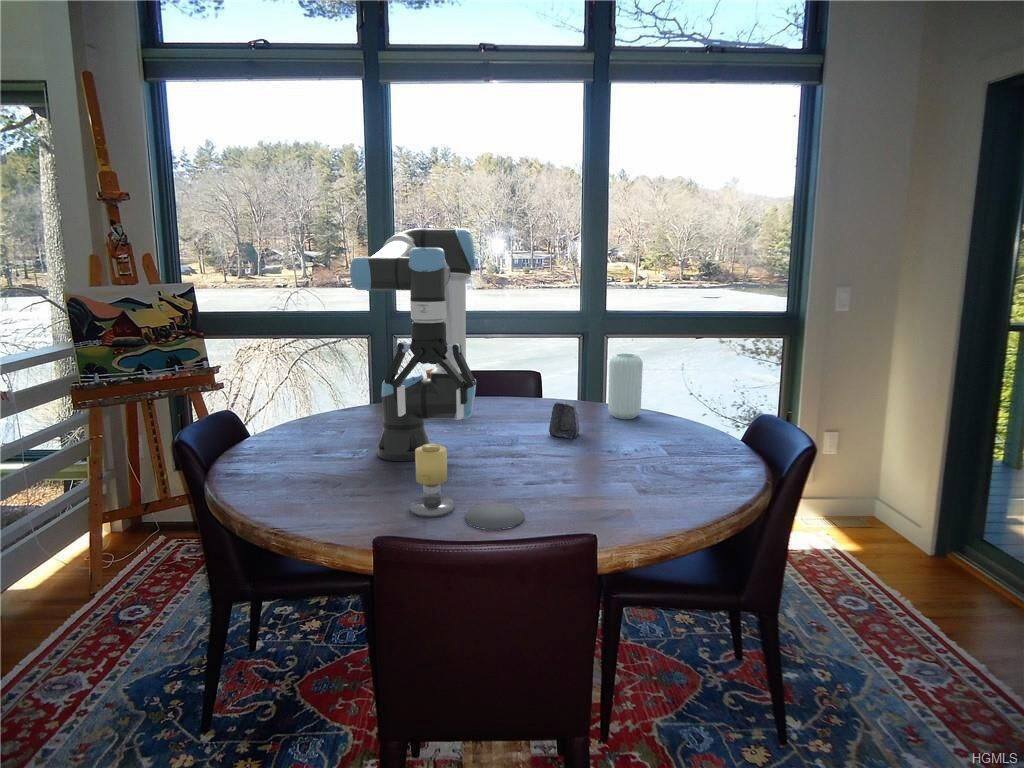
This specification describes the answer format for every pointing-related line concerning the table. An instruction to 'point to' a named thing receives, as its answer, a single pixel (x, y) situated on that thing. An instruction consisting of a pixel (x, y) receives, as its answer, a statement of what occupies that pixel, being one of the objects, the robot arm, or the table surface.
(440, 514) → the metal disc with peg
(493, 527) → the rubber mat
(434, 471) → the cap
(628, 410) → the vase
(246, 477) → the table surface
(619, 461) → the table surface
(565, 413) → the stone
